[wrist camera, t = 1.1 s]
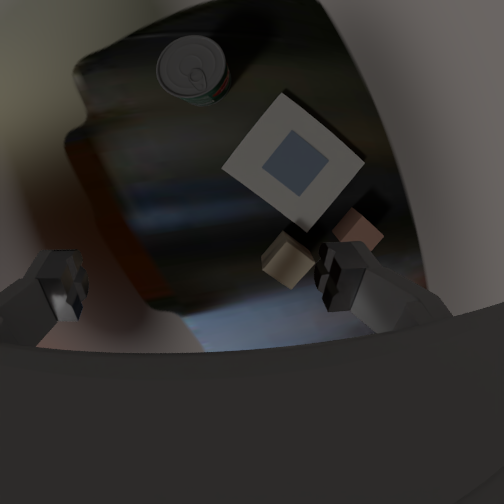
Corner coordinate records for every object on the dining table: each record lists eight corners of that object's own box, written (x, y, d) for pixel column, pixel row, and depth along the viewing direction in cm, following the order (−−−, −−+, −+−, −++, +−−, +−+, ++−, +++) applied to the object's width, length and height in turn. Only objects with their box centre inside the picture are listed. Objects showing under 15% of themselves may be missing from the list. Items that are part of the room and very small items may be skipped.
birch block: (309, 250, 48) (315, 262, 43) (287, 274, 50) (291, 289, 45) (282, 230, 47) (286, 241, 42) (261, 256, 48) (262, 269, 44)
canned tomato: (169, 72, 37) (145, 55, 27) (217, 48, 36) (207, 23, 26) (191, 115, 40) (172, 110, 29) (240, 92, 38) (237, 78, 28)
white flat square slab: (362, 162, 42) (365, 162, 41) (305, 230, 46) (307, 232, 45) (280, 93, 38) (281, 92, 37) (222, 167, 43) (221, 168, 41)
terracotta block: (372, 225, 46) (384, 236, 42) (352, 248, 48) (362, 260, 43) (351, 207, 45) (362, 215, 41) (331, 230, 47) (340, 241, 42)
